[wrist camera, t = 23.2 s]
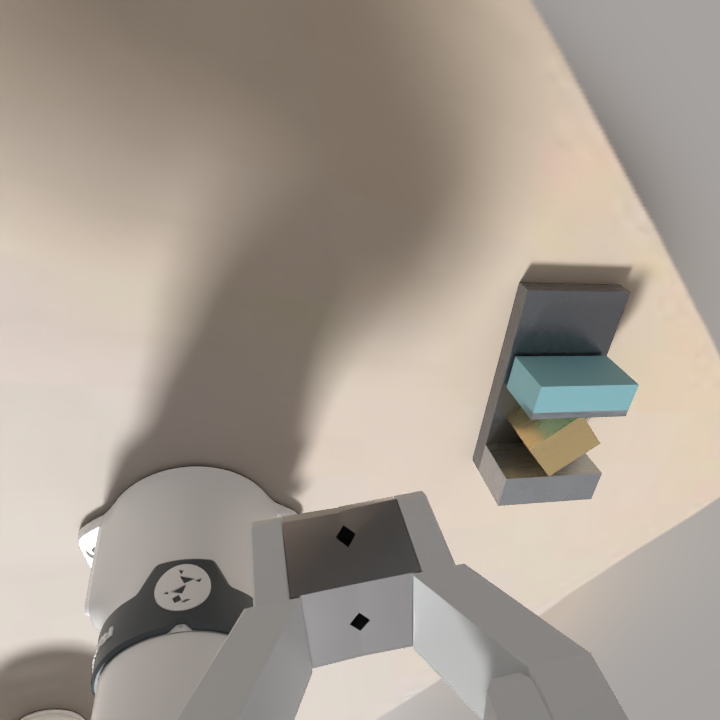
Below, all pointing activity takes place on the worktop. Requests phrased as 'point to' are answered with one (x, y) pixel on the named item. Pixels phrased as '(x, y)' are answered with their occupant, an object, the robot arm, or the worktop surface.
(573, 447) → the tan short block
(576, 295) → the press bed
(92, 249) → the worktop surface
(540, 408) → the block
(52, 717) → the lidded bowl
